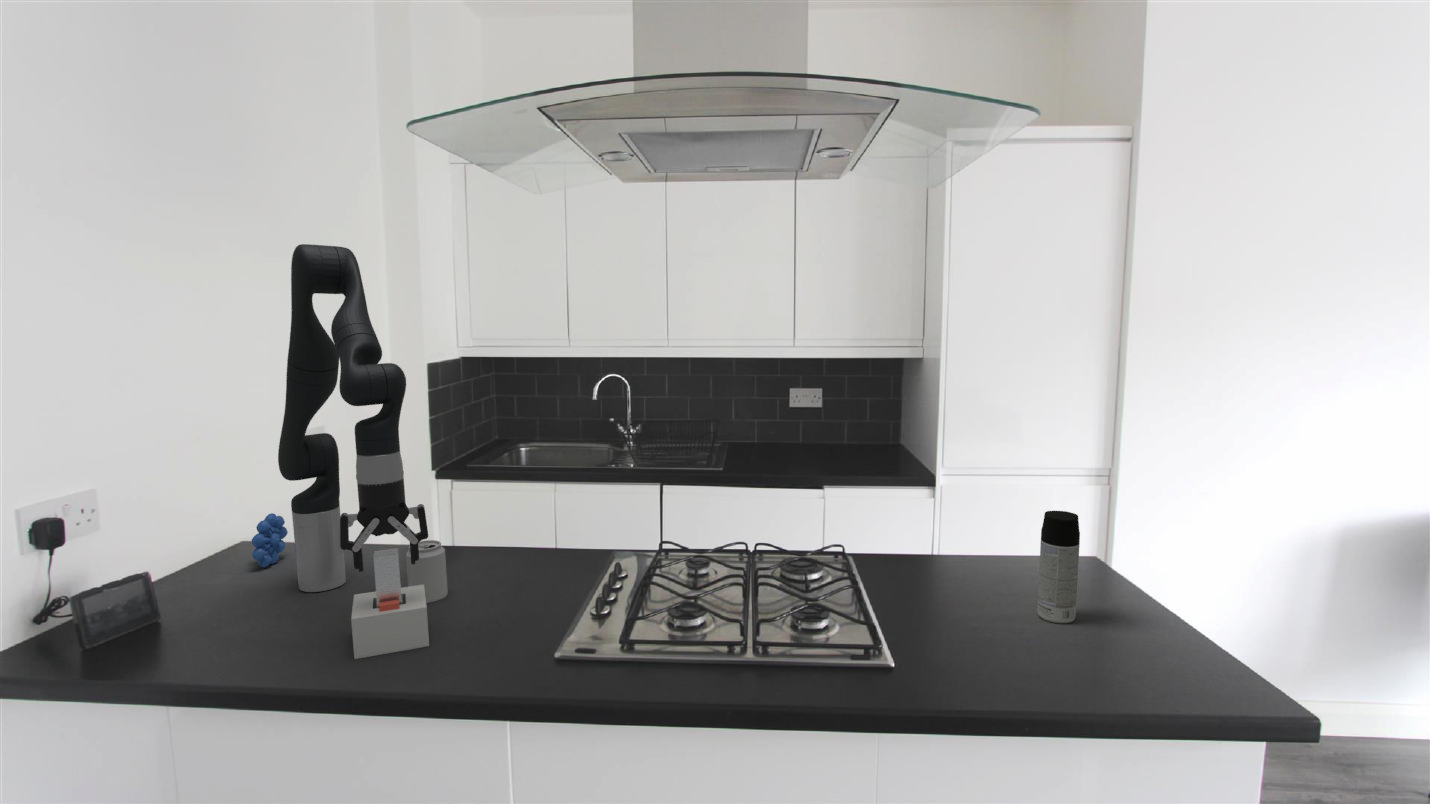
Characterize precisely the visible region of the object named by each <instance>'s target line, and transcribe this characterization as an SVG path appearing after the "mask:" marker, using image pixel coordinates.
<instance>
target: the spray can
mask: <svg viewBox="0 0 1430 804" xmlns="http://www.w3.org/2000/svg"><path fill="white" fill-rule="evenodd" d="M1042 521H1043V522H1042V527H1041V529H1040V531H1041V533H1040V547H1039V548H1040V550H1039V571H1038V572H1039V573H1038V587H1037V588H1038V590H1037V593H1038V594H1037V615H1038V617H1039V618H1040V619H1042V620H1044V621H1046V622H1049V623H1053V624H1070V623H1073V622H1074V621H1075V619H1076V617H1077V615H1076V614H1077V613H1076V612H1077V597H1078V582H1079V581H1078V579H1079V578H1078V577H1079V562H1080V561H1079V560H1080V558H1079V557H1080V542H1081V541H1080V538H1081V537H1080V536H1081V532H1080V526H1079V525H1080V523H1079V515H1078V514H1076V513H1075V512H1070V511H1066V510H1065V511H1064V510H1047V511H1045V512H1044V516H1043V520H1042Z"/></svg>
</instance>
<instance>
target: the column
mask: <svg viewBox="0 0 1430 804" xmlns="http://www.w3.org/2000/svg"><path fill="white" fill-rule="evenodd" d="M373 567H374V569H373V571H374V580H375V592H376V597H377V599H376V608H379V602H386V601H392V600H399V605H401V604H403V595H401V588H402V584H401V572H400V571H401V570H400V569H401V568H400V558H399V548H398V547H396V548H395V547H394V548H389V549H380V550H375V551H373Z"/></svg>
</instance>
